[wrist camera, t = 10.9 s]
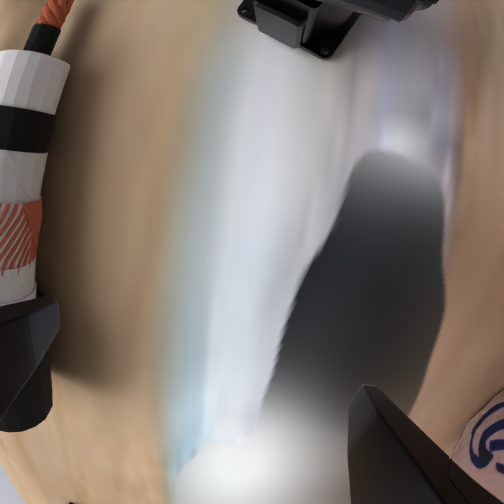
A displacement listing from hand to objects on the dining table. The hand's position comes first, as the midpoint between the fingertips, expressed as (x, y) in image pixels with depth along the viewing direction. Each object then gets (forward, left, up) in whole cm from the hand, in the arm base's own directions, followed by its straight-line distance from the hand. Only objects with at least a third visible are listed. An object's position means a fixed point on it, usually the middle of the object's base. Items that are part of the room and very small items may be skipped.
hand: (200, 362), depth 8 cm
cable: (+8, -16, -14) cm, 22 cm away
